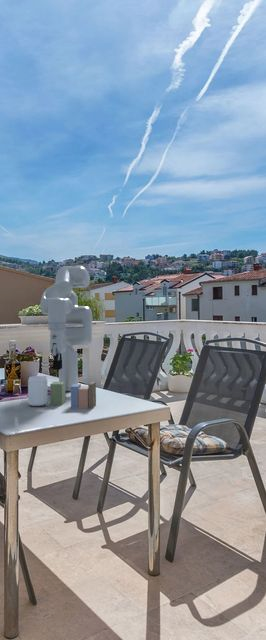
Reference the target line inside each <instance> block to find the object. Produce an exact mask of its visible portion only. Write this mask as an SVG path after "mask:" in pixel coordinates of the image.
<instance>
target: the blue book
mask: <svg viewBox="0 0 266 640" xmlns="http://www.w3.org/2000/svg"><path fill="white" fill-rule="evenodd" d="M81 386H82V384H81V383H78V384H73V385H72V386H71V391H70V409H79V408H78V389H79V388H80V387H81Z"/></svg>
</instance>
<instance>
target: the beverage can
mask: <svg viewBox="0 0 266 640" xmlns="http://www.w3.org/2000/svg"><path fill="white" fill-rule="evenodd" d="M48 393H49V392H48V378H47V376H46V375H33V376H29V378H28V379H27V398H28V399H27V402H28V403H27V404H28V405H30V406H32V407H41V406H46V405H48V401H49V400H48V399H49V398H48V395H49V394H48Z"/></svg>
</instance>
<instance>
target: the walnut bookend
mask: <svg viewBox="0 0 266 640" xmlns="http://www.w3.org/2000/svg"><path fill="white" fill-rule="evenodd" d="M87 385H88V386H87V387H88V399H89V408H88V409H94V408H96V406H97V381H91V382H89V383H88V384H87Z"/></svg>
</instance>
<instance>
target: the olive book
mask: <svg viewBox="0 0 266 640" xmlns="http://www.w3.org/2000/svg"><path fill="white" fill-rule="evenodd" d="M49 389H50V394H49V395H50V406H63V405H64V404H65V403H66V391H65V382H59V381H53V382H52V383H50V388H49Z"/></svg>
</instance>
